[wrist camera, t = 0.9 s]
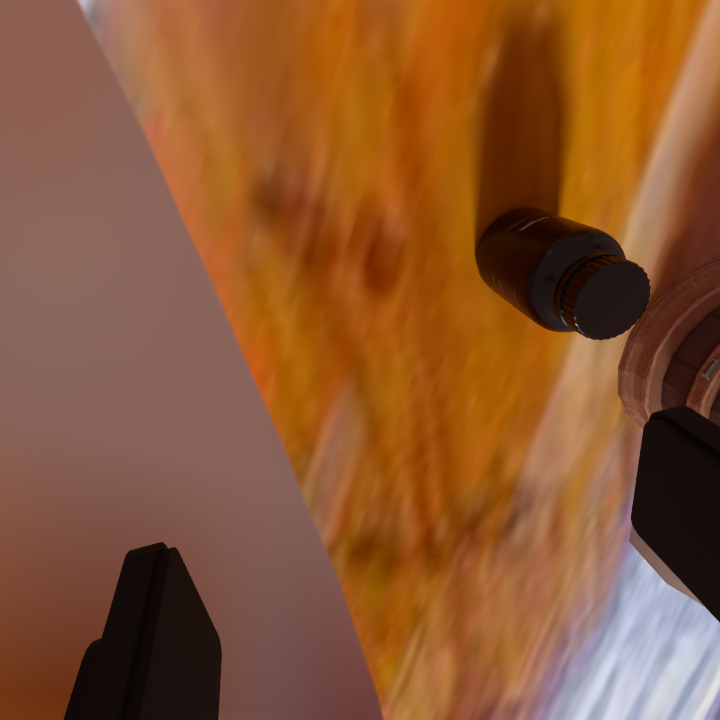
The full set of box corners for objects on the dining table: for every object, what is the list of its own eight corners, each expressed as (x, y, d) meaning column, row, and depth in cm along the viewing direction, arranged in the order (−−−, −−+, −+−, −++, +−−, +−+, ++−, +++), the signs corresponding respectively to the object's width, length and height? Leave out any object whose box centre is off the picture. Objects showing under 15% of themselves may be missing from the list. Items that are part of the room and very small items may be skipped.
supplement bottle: (518, 186, 36) (629, 214, 25) (571, 242, 39) (691, 289, 28) (455, 260, 37) (535, 315, 27) (510, 309, 40) (602, 376, 30)
